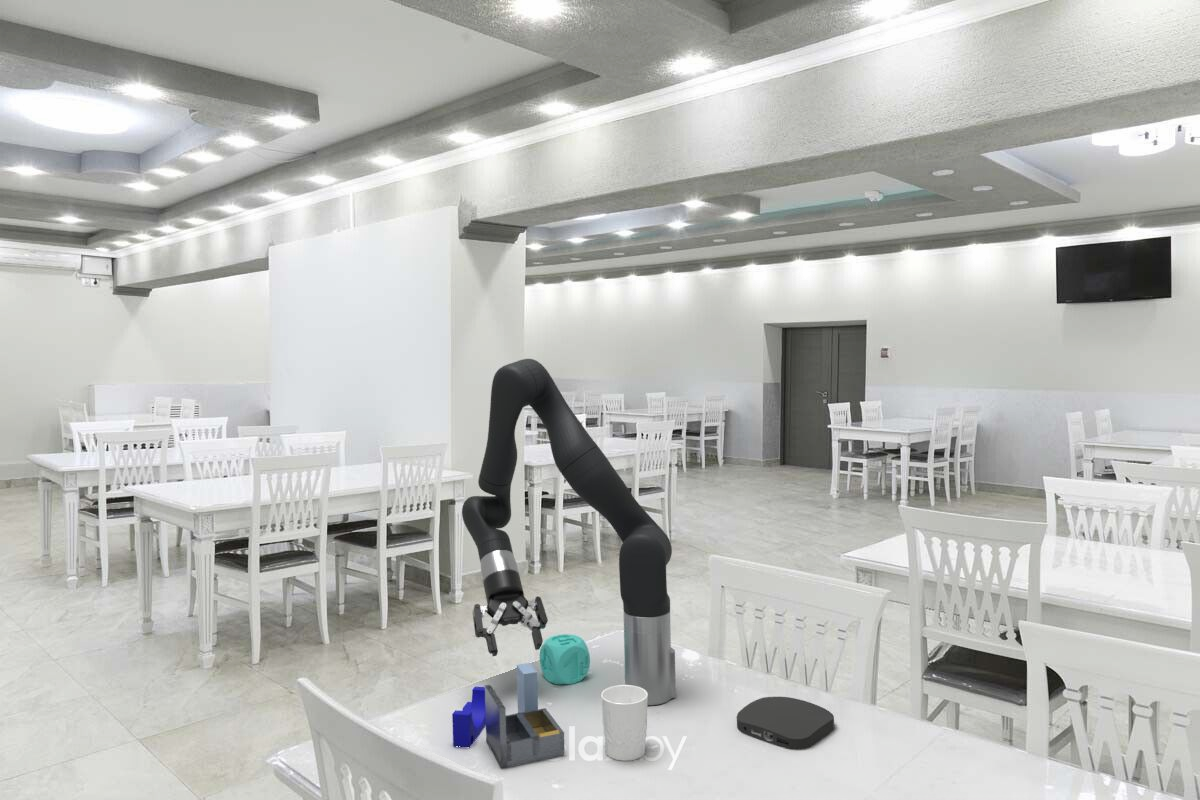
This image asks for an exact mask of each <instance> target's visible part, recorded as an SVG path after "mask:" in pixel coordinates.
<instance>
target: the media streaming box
mask: <svg viewBox="0 0 1200 800" xmlns="http://www.w3.org/2000/svg"><path fill="white" fill-rule="evenodd" d="M736 728H737V730H738V731H739V732H740V733H742V734H744V735H746V736H748V737H751V738H754V739H756V740H760V741H763V742H766V743H768V744H770V745H775V746H777V747H780V748H784V749H788V750H795V751H798V750H800V751H801V750H806V749H809V748H812V747H814V746H815V745H816V744H818V743H819V742H820V741H822V740H823V739H825V738H826V737H827V736H828V735H829V734H831V733H832V732H833V731H834V730H835V715H833V713H832V712H831V711H829V710H828V709H826V708H824V707H822V706H821V705H818V704H816V703H812V702H810V701H807V700H803V699H799V698H794V697H791V696H790V697H789V696H766V697H765V696H764V697H760V698H758V699H755V700H753V701H752V702H749V703H748V704H747V705H745V706H744V707H743V708H741V709H740V710H739V711H738V713H737V714H736Z"/></svg>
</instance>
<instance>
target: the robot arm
mask: <svg viewBox="0 0 1200 800" xmlns="http://www.w3.org/2000/svg"><path fill="white" fill-rule="evenodd" d="M491 383H492V384H491V391H490V403H489V406H490V407H489V420H488V432H487V440H486V441H487V442H486V447H485V452H484V457H483V459H482V462H481V468H480V473H479V475H478V479H477V480H478V481H477V482H478V487H479V489H481V490H482V491H483V492H484V493H486V494H488V495H474V496H470V497H468V498H466V500H465V501H464V502H463V505H462V508H461V516H462V521H463V523H464V525H465V528H466V529H467V531H468V533H469V534H470V536H471V539H472V540H473V542H474V544H475V545H476V549H477V552H478V558H479V562H480V573H481V582H482V584H483V588H484V593H485V598H486V605H480V604H479V603H475V604H474V606H473V609H472V618H473V628H474V634H475V637H476V638H478V639H479V638H484V639H485V641H486V646H487V651H488V653H489V654H490V655H491V656H492V657H497V655H498V654H499V653H498V645H497V640H496V636H495V632H496V629H497V628H498V626H499V625H501V626H502V627H505V626H509V625H517V624H518V623H520V624H521V625H522V626H524V628H526V627H527V629H529V630H530V632H531V637H532V641H533V647H534V649H535V651H537V650H538V651H540V649H541V647H542V645H543V644H544V642H543V639H544V638H543V636H542V631H541V630H542V629H545V628H546V626H547V624H548V622H549V620H548V616H547V613H546V609H545V606H544V603H543V599H542V597H541V596H538V595H537V596H536V597H535V598H534V599H530V600H528V599H527V598H526V597H525V593H524V589H523V585H522V581H521V580H522V579H521V577H520V573H519V568H518V564H517V561H516V558H515V555H514V552H513V547H512V544H511V539H510V537H509V534H508V533H507V532H506V531H504V530H502V529H503V528H505V527H506V526H507V525H508V524H509V523H510V521H511V517H512V507H511V506H512V503H511V491H512V490H511V487H512V482H513V479H514V475H515V471H516V467H517V463H518V462H517V461H518V449H517V443H516V442H517V441H516V437H515V436H516V435H515V433H516V426H517V422H518V419H519V418H520V415H521V412H522V411H523V409H524V408H525V407H527V406H529V407H531V409H532V410H533V411H534V412H535V413H536V415H537V417H538V418H539V419H540V421H541V423H542V424H543V426H544V427H545V430H546V432H547V436H548V439H549V443H550V449H551V454H552V458H553V462H554V464H555V466H556V468H557V469H558V471H559V472H560V474H561V475H562V477H563V478H564V479H565V481H566V482H567V484H568V485H569V486H570V487H571V489H572V490H573V491H574V492H575V493H576V495H578V497H579V498H581V499H582V500H583V501H584V502H585V503H587V505H589V506H590V507H591V508H592V509H594V510H595V511H596V512H598V514H600V515H601V516H603V518H604V519H605V520H606V521H607V522H608V523H609V524H610V526H611V527H612V528H613V529H614V531H615V532H616V534H617V536H618V537H619V539H620V540H621V542H622V544H621V546H620V548H619V554H618V568H619V569H618V570H619V571H618V573H619V590H620V592H619V593H620V598H621V600H622V603H623V605H622V607H623V608H622V609H623V645H624V646H623V648H624V649H623V650H624V651H623V652H624V660H623V661H624V685H632V686H637V687H640V688H643V689H644V690H646V691H647V693H648V702H647V706H657V705H662V704H665V703H667V702H669V701H670V700H672V699H674V698H676V696H677V693H676V691H677V690H676V689H677V688H676V686H677V685H676V683H677V682H676V650H675V649H674V648H673V647H672V640H671V639H672V638H671V636H672V633H671V630H672V629H671V598H670V595H669V594H668V588H667V587H668V586H667V583H668V582H667V565H668V563H669V562H670V561H671V558H672V553H673V551H672V550H673V549H672V543H671V540H670V538H669V536H668V535H667V534H666V532H665V531H664V530H663V529H662V527H660V526H659V525H658V523H657V522H656V521H655V520H654V519H653V518H652V517H651V516H650V515H649V514H648V513H647V512H646V510H645V509H644V508H643V507H642V506H641V505H640V504H639V502H638V501H637V500H636V498H635V497H634V496H633V494H632V492H631V491H630V489H629V488H628V487H627V485H626V484H625V481H624V480H623V479H622V478H621V477H620V475H619V473H618V472H617V471H616V469H615V468H614V466H613V465H612V463H611V462H610V460H609V459H608V457H606V455H605V454H604V452H603V451H602V449H601V448H600V447H599V445H598V444H597V443H596V442H595V441H594V439H593V438H592V437H591V435H590V434H589V432H588V431H587V430H586V429H585V427H584V426H583V424H582V423H581V421H580V420H579V419H578V417H577V416H576V415H575V413H574V411H573V410H572V409H571V408H570V406H569V405H568V403H567V401H566V399H565V398H564V396H563V395H562V393H561V391H560V389H559V387H558V386H557V384H556V382H555V381H554V379H553V378H552V376H551V374H550V372H549V371H548V370H547V368H546V367H545V366H544V365H543V364H542V363H540V362H539V361H538V360H536V359H533V358H523V359H519V360H517V361H514V362H510V363H508V364H504V365H503V366H501V367H500V368H499V369H498V370H497V371H496V372H495V374H494V376H493V378H492V382H491ZM489 495H490V496H489ZM528 608H530V609H531V610H532V611H533V612H535V615H536V618H534V616H533V615H532V613H531V612H530V611H528ZM486 613H487V615H488V616H490V617H491V618H492V619H491V621H490V623H489V624H488V627H484V625H483V618H484V616H485V614H486Z"/></svg>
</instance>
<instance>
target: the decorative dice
mask: <svg viewBox="0 0 1200 800" xmlns="http://www.w3.org/2000/svg"><path fill="white" fill-rule="evenodd" d="M590 657H591V656H590V651H589V648H588V645H587V643H586V642H585V640H584V639H583V638H582V637H581V636H579V635H575V634H569V633H568V634H565V633H564V634H557V635H556V634H555V635H553V636H550V637H548V638H547V639H546V640H545V641H544V642H543V643H542V645H541V647H540V649H539V666H540V669H541V672H542V675H543V676H544V678H545V680H546V681H547V682H549V683H551V682H552V683H551V684H553V683H556V684H555V685H558V684H568V685H573V684H577V683H579V682H580V681H582V680H583V679H584V678H585V677H586V675H587V674H588V672H589V670H590V666H591V658H590Z"/></svg>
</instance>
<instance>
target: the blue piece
mask: <svg viewBox="0 0 1200 800" xmlns="http://www.w3.org/2000/svg"><path fill="white" fill-rule="evenodd" d="M471 691H472V693H471V701H467V702H466V703H465V705H464V706H463V707H462V709H461V710H457V709H456V710H454V712H453V713H451V714H452V716H451V717H452V720H451V721H452V747H453V746H455V747H454V748H463V747H469V749H470V748H471V747H472V745H473V744H474V742H475V741H476V740H477V738H478V737H479V736H480V734H481V733H482V731H483V730H484V728H486V711H485V686H474V687H473V688H472V690H471ZM475 739H476V740H475ZM456 746H458V747H456ZM459 746H460V747H459ZM470 746H471V747H470Z"/></svg>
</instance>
